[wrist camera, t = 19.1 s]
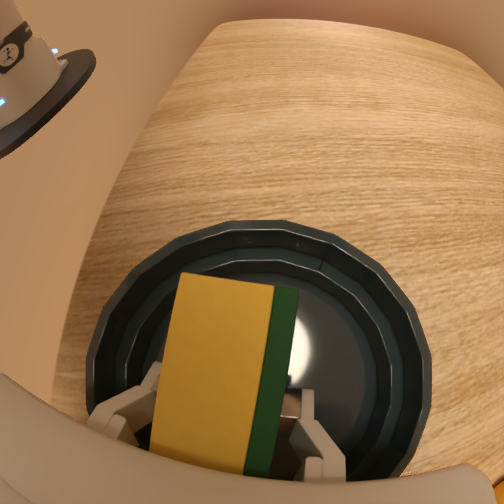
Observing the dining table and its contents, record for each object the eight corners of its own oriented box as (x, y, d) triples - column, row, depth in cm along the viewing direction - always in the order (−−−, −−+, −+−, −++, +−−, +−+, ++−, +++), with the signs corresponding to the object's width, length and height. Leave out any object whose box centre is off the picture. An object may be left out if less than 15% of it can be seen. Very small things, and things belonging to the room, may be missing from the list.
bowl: (87, 395, 15) (42, 399, 11) (231, 210, 20) (221, 166, 15) (285, 537, 11) (289, 577, 6) (432, 343, 16) (476, 334, 11)
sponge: (194, 449, 14) (143, 504, 6) (218, 311, 17) (180, 270, 9) (260, 461, 13) (254, 531, 6) (284, 321, 16) (299, 288, 9)
